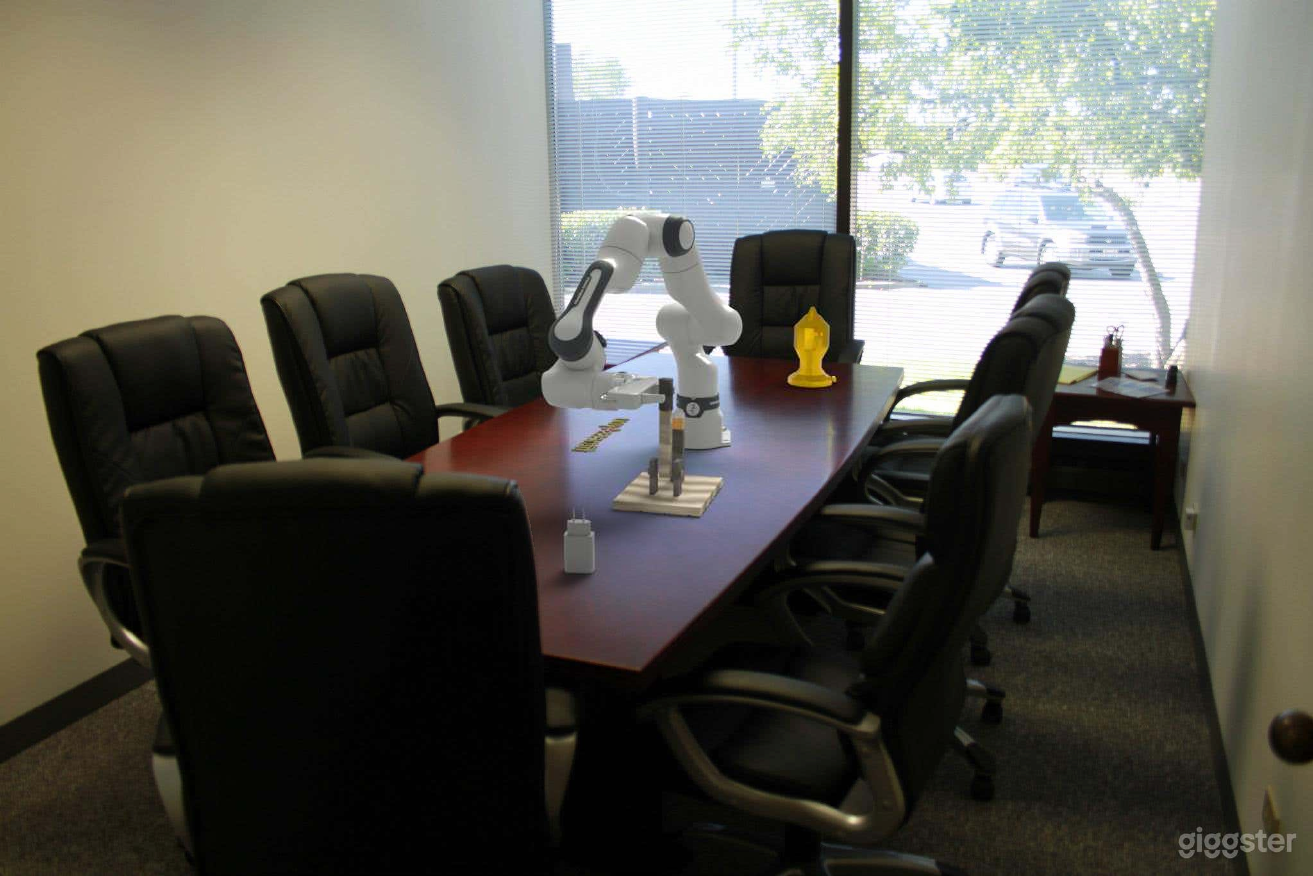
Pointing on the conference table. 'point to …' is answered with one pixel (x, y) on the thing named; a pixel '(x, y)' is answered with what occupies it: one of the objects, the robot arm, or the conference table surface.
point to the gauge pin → (678, 421)
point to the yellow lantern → (811, 351)
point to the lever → (665, 428)
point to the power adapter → (579, 546)
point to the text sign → (610, 429)
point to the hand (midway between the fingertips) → (669, 394)
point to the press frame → (669, 487)
